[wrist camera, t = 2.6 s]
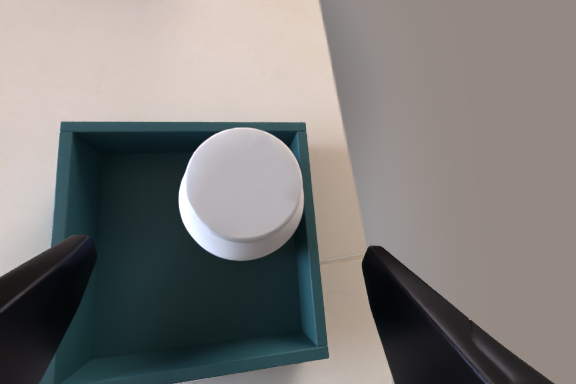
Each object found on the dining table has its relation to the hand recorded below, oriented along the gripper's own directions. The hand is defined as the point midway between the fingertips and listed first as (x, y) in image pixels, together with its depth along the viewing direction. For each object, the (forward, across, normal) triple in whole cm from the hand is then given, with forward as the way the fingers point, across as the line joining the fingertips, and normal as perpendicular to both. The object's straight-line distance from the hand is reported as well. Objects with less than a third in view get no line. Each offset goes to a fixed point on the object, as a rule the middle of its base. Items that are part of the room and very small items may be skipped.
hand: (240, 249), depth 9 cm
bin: (+7, +2, +7) cm, 10 cm away
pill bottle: (+8, 0, +5) cm, 10 cm away
